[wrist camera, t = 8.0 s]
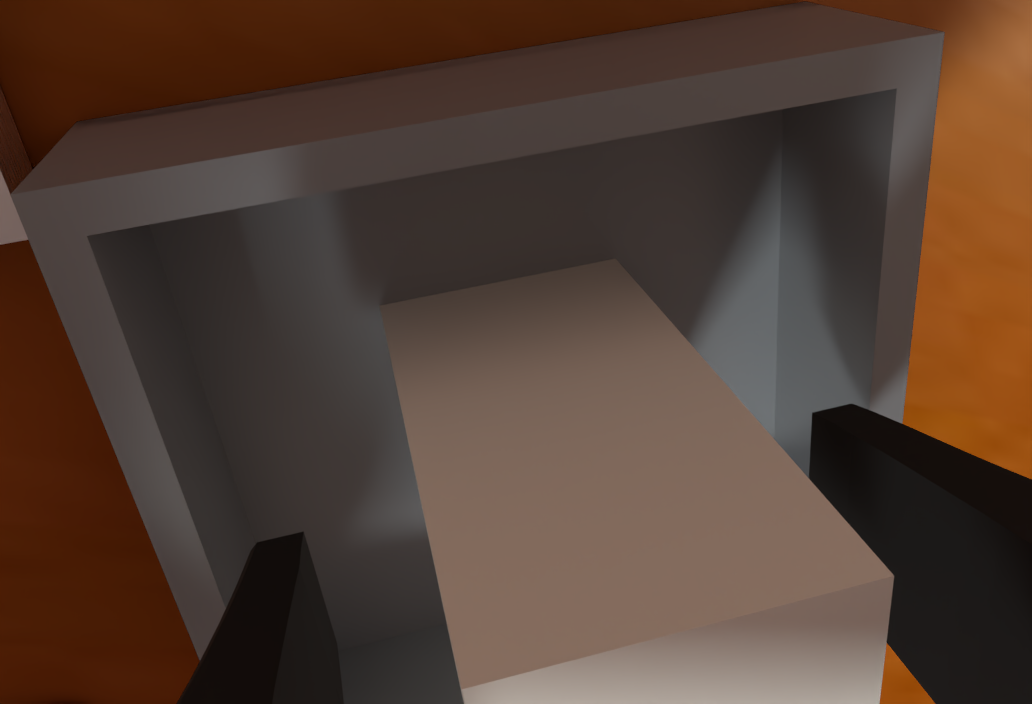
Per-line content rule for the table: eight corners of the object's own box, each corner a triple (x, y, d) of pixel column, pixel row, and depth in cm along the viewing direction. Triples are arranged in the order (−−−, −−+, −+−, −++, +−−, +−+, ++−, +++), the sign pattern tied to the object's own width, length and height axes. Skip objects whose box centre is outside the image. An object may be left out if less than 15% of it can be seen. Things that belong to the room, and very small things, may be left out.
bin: (785, 541, 20) (876, 660, 17) (272, 672, 18) (268, 830, 15) (805, 1, 14) (944, 31, 11) (76, 121, 13) (10, 195, 10)
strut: (628, 452, 17) (863, 844, 10) (420, 501, 16) (516, 950, 9) (615, 258, 15) (894, 576, 8) (379, 305, 14) (462, 689, 8)
